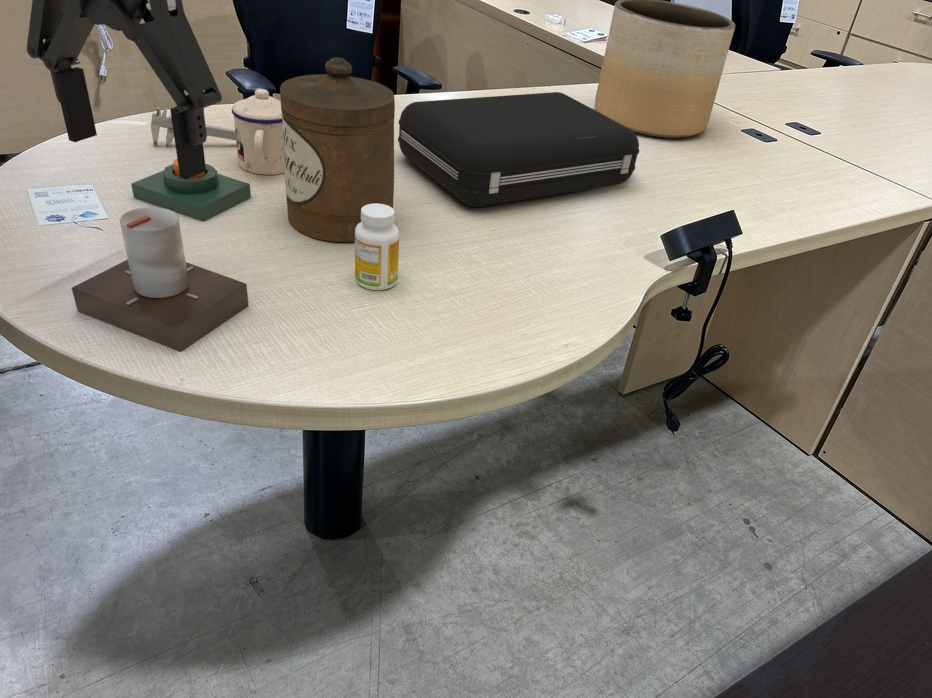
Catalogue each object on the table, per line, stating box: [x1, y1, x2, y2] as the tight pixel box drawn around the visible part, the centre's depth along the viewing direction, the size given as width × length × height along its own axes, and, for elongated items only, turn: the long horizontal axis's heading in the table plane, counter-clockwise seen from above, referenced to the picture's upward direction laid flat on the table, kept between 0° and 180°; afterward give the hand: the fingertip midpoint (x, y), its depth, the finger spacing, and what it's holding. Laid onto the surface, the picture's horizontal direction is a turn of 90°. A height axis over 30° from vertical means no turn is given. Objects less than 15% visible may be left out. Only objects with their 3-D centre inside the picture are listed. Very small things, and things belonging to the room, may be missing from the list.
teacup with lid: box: [231, 88, 285, 176], centre depth 113 cm, size 12×9×12 cm
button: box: [172, 158, 206, 178], centre depth 103 cm, size 4×4×2 cm
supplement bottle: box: [354, 204, 400, 291], centre depth 91 cm, size 5×5×10 cm
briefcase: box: [397, 91, 640, 208], centre depth 128 cm, size 36×32×10 cm
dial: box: [119, 206, 189, 298], centre depth 79 cm, size 6×6×8 cm
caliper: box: [150, 106, 236, 148], centre depth 119 cm, size 20×1×6 cm, turn 110°
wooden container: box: [279, 56, 396, 243], centre depth 99 cm, size 15×15×22 cm
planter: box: [594, 0, 736, 139], centre depth 157 cm, size 25×25×22 cm
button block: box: [130, 163, 252, 222], centre depth 104 cm, size 12×10×4 cm
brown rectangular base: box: [71, 258, 249, 352], centre depth 82 cm, size 14×11×3 cm
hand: (137, 156), depth 73 cm, fingers open, 13 cm apart
